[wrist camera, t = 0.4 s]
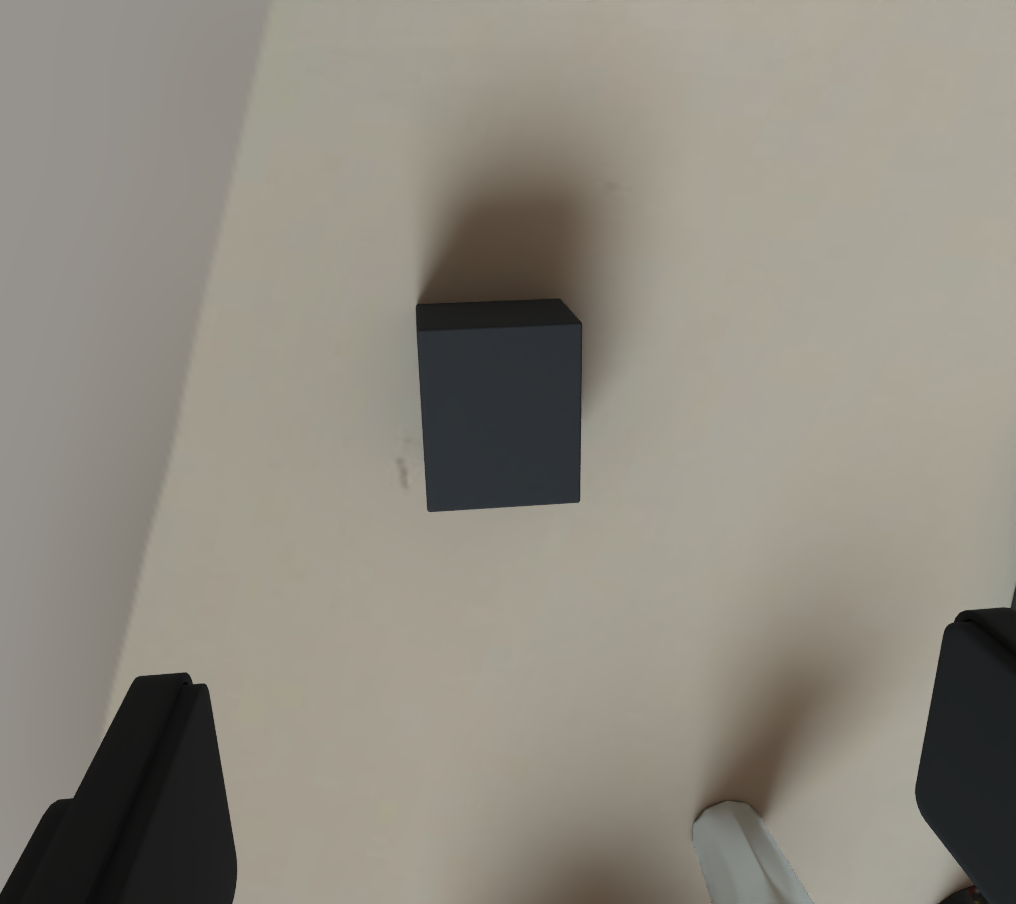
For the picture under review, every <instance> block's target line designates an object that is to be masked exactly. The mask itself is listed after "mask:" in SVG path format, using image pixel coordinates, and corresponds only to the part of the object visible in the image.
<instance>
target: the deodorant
mask: <svg viewBox="0 0 1016 904" xmlns="http://www.w3.org/2000/svg"><path fill="white" fill-rule="evenodd" d="M941 904H989V903H988V901H987V900H986V899H985V897H984V896H983V895H982V893H981V892H980V891H979V890H978V888H977V887H976V886H973V887H970V888H966V889H964V890H962V891H960V892H958V893H956V894H954V895H952V896H950V897H949V898H947V899H946V900H945V901H943V902H942V903H941Z"/></svg>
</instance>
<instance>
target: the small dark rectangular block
mask: <svg viewBox="0 0 1016 904" xmlns="http://www.w3.org/2000/svg"><path fill="white" fill-rule="evenodd" d="M416 325H417V345H418V361H419V378H420V395H421V412H422V429H423V445H424V462H425V479H426V496H427V510H428V512H438V511H454V510H469V509H485V508H501V507H517V506H532V505H548V504H564V503H578V502H579V501H580V465H581V380H582V323H581V322H580V321H579V320H578V318H577V317H576V316H575V315H574V314H573V313H572V312H571V311H570V310H569V308H568V307H567V306H566V305H565V304H564V303H563V302H562V301H561V299H539V300H514V301H489V302H465V303H440V304H418V305H416Z"/></svg>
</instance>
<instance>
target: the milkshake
mask: <svg viewBox="0 0 1016 904" xmlns="http://www.w3.org/2000/svg"><path fill="white" fill-rule="evenodd" d="M693 845H694V848H695V852H696V855H697V858H698V861H699V865H700V868H701V871H702V874H703V878H704V881H705V884H706V888H707V891H708V894H709V897H710V901H711V904H815V903H814V902H813V900H812V899H811V897H810V896H809V894H808V892H807V891H806V889H805V888H804V886H803V884H802V883H801V881H800V880H799V878H798V876H797V875H796V873H795V872H794V870H793V868H792V867H791V865H790V863H789V862H788V860H787V859H786V857H785V855H784V854H783V852H782V851H781V849H780V847H779V846H778V844H777V843H776V841H775V839H774V838H773V836H772V835H771V833H770V831H769V830H768V828H767V827H766V825H765V823H764V822H763V820H762V819H761V817H760V816H759V815H758V814H757V813H756V812H755V811H754V810H753V809H752V808H751V807H750V806H749V805H748V804H747V803H741V802H733V801H725V802H722V803H720V804H717V805H715V806H712V807H709V808H707V809H706V810H705V811H704V812H703V813H702V814H701V816H700V817H699V818H698V819H697V820H696V822H695V823H694V824H693Z"/></svg>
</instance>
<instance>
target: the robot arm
mask: <svg viewBox="0 0 1016 904" xmlns="http://www.w3.org/2000/svg"><path fill="white" fill-rule="evenodd" d="M915 795H916V801H917V805H918V808H919V810H920V813H921V815H922V816H923V818H924V819H925V821H926V822H927V823H928V825H929V826H930V827H931V829H932V830H933V831H934V833H935V834H936V835H937V836H938V838H939V839H940V840H941V842H942V843H943V844H944V845H945V847H946V848H947V849H948V851H949V852H950V853H951V855H952V856H953V857H954V858H955V860H956V861H957V862H958V864H959V865H960V866H961V868H962V869H963V870H964V871H965V873H966V874H967V875H968V877H969V878H970V879H971V880H972V882H973V883H974V884H975V886H976V887H977V888H978V890H979V891H980V892H981V893H982V895H983V896H984V897H985V899H986V900H987V901H988V903H989V904H1016V611H1015V610H1013V609H1011V608H990V609H978V610H965V611H963V612H961V613H959V614H958V616H957V617H956V618H955V621H954V623H951V624H949V625H948V626H947V627H946V628H945V631H944V634H943V639H942V645H941V650H940V656H939V661H938V666H937V672H936V677H935V683H934V688H933V694H932V699H931V705H930V710H929V716H928V721H927V726H926V732H925V737H924V743H923V748H922V754H921V759H920V765H919V770H918V776H917V781H916V788H915ZM236 881H237V858H236V851H235V845H234V839H233V833H232V827H231V821H230V815H229V809H228V803H227V797H226V791H225V785H224V779H223V773H222V767H221V761H220V755H219V749H218V742H217V736H216V730H215V724H214V718H213V712H212V706H211V700H210V695H209V690H208V687H207V685H206V684H193V683H192V679H191V677H190V675H189V674H188V673H173V674H161V675H148V676H139V677H137V678H135V680H134V681H133V683H132V684H131V686H130V688H129V690H128V692H127V694H126V696H125V698H124V700H123V702H122V704H121V706H120V708H119V710H118V712H117V714H116V716H115V718H114V720H113V721H112V723H111V725H110V727H109V729H108V731H107V733H106V735H105V737H104V739H103V741H102V743H101V745H100V747H99V749H98V751H97V753H96V755H95V757H94V759H93V761H92V762H91V764H90V766H89V768H88V770H87V772H86V774H85V776H84V779H83V780H82V782H81V784H80V786H79V788H78V790H77V792H76V794H75V796H74V798H72V799H61V800H57V801H56V802H54V803H53V804H51V805H50V806H49V808H48V809H47V811H46V812H45V814H44V815H43V816H42V818H41V820H40V822H39V824H38V826H37V827H36V829H35V831H34V833H33V835H32V837H31V839H30V840H29V842H28V844H27V846H26V848H25V849H24V851H23V853H22V855H21V857H20V859H19V861H18V863H17V864H16V866H15V868H14V870H13V872H12V873H11V875H10V877H9V879H8V881H7V883H6V885H5V886H4V888H3V890H2V892H1V894H0V904H232V903H233V898H234V894H235V889H236Z"/></svg>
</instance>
